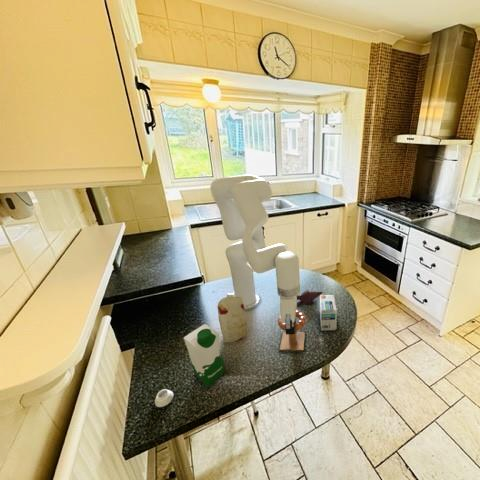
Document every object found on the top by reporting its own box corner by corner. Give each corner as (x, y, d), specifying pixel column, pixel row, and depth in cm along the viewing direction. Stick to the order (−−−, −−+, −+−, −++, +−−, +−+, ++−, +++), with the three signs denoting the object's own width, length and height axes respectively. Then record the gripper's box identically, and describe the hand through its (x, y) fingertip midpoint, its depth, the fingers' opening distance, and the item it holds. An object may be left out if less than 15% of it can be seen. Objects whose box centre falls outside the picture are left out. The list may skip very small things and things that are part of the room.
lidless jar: (154, 397, 81) (156, 411, 77) (152, 391, 79) (153, 404, 76) (172, 389, 83) (174, 402, 79) (170, 383, 82) (172, 395, 78)
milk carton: (207, 391, 83) (195, 346, 74) (191, 376, 87) (178, 332, 79) (229, 371, 89) (221, 328, 81) (214, 359, 94) (204, 316, 86)
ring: (276, 332, 92) (275, 327, 91) (280, 313, 101) (279, 308, 100) (305, 333, 92) (304, 327, 91) (306, 313, 101) (306, 308, 100)
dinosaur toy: (318, 283, 128) (290, 293, 122) (324, 288, 121) (294, 298, 116) (320, 296, 129) (292, 306, 124) (326, 301, 122) (297, 312, 117)
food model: (224, 349, 98) (216, 307, 90) (222, 337, 104) (214, 297, 95) (250, 340, 102) (244, 300, 94) (246, 329, 108) (241, 290, 99)
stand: (279, 352, 97) (278, 330, 92) (283, 334, 105) (281, 313, 101) (303, 352, 97) (303, 330, 92) (305, 334, 105) (304, 313, 101)
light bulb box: (336, 330, 107) (337, 310, 103) (320, 331, 107) (321, 310, 102) (333, 313, 117) (334, 294, 112) (319, 313, 117) (319, 294, 112)
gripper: (280, 274, 93) (283, 314, 100) (273, 303, 78) (277, 348, 85) (301, 275, 93) (302, 314, 100) (297, 303, 78) (299, 348, 85)
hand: (290, 329), depth 93 cm, fingers closed on ring, 2 cm apart
